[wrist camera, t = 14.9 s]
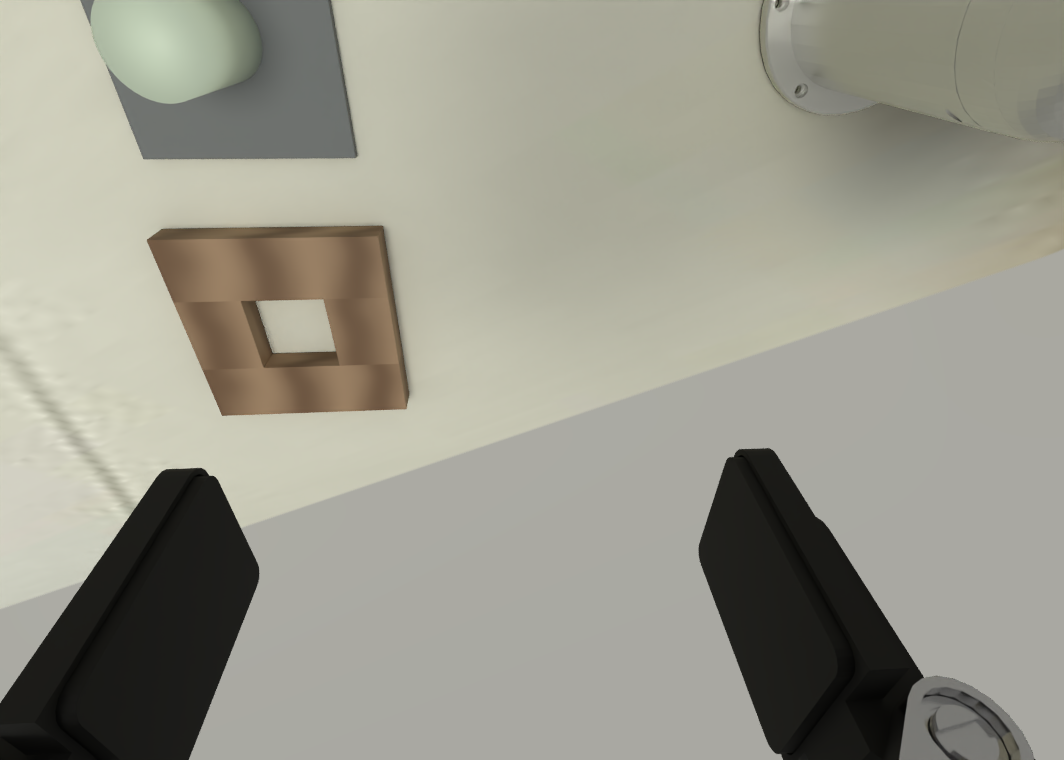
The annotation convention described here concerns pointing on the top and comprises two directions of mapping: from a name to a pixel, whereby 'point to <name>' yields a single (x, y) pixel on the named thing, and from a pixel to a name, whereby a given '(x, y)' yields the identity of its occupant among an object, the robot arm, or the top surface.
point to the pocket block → (287, 274)
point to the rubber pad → (259, 97)
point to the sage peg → (176, 45)
